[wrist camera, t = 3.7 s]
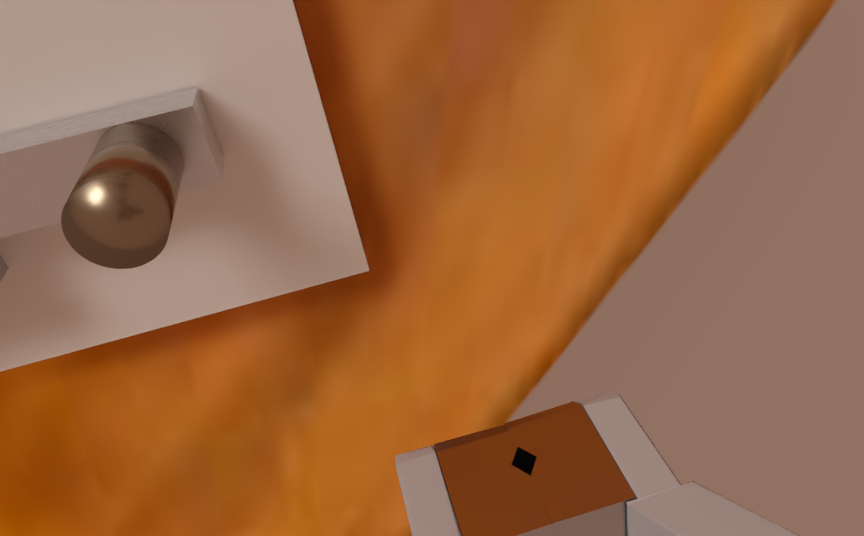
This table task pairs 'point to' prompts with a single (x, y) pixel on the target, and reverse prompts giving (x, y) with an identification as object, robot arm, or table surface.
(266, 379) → the table surface
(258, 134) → the door plate
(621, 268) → the table surface
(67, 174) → the bolt
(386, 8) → the table surface
